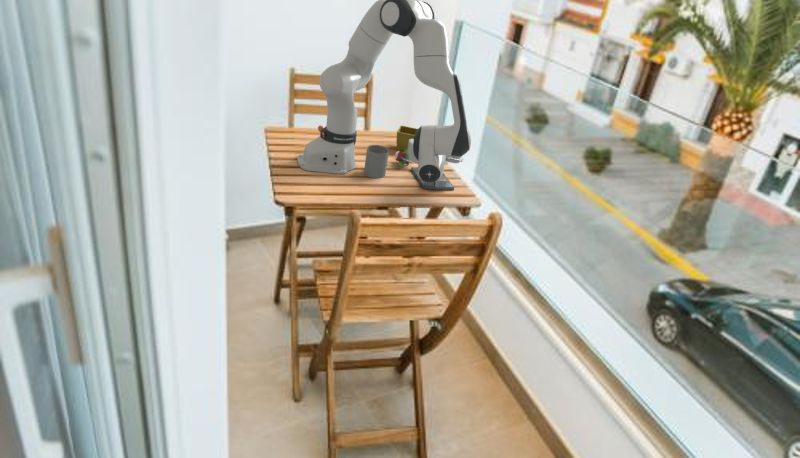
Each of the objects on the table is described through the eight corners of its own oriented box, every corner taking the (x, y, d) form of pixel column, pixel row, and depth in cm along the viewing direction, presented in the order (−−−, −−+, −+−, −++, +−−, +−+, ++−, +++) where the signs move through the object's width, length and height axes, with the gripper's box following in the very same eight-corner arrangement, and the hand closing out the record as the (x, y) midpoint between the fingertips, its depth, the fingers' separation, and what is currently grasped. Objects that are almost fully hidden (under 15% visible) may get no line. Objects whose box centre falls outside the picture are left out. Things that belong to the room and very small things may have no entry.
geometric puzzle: (411, 156, 214) (403, 142, 209) (419, 163, 209) (411, 148, 204) (397, 166, 214) (389, 152, 208) (404, 173, 209) (396, 159, 203)
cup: (366, 177, 195) (369, 153, 190) (361, 168, 201) (364, 144, 196) (387, 178, 197) (391, 154, 192) (382, 169, 204) (386, 145, 199)
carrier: (424, 189, 194) (426, 180, 192) (410, 170, 207) (412, 161, 205) (453, 189, 198) (455, 181, 196) (438, 170, 211) (440, 162, 209)
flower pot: (413, 155, 221) (417, 135, 216) (393, 151, 222) (396, 131, 217) (416, 148, 229) (420, 129, 224) (397, 144, 229) (400, 125, 225)
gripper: (464, 154, 179) (466, 140, 191) (406, 142, 180) (411, 130, 192) (461, 170, 182) (462, 156, 194) (404, 159, 183) (409, 146, 195)
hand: (436, 143), depth 193 cm, fingers closed on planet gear, 4 cm apart
